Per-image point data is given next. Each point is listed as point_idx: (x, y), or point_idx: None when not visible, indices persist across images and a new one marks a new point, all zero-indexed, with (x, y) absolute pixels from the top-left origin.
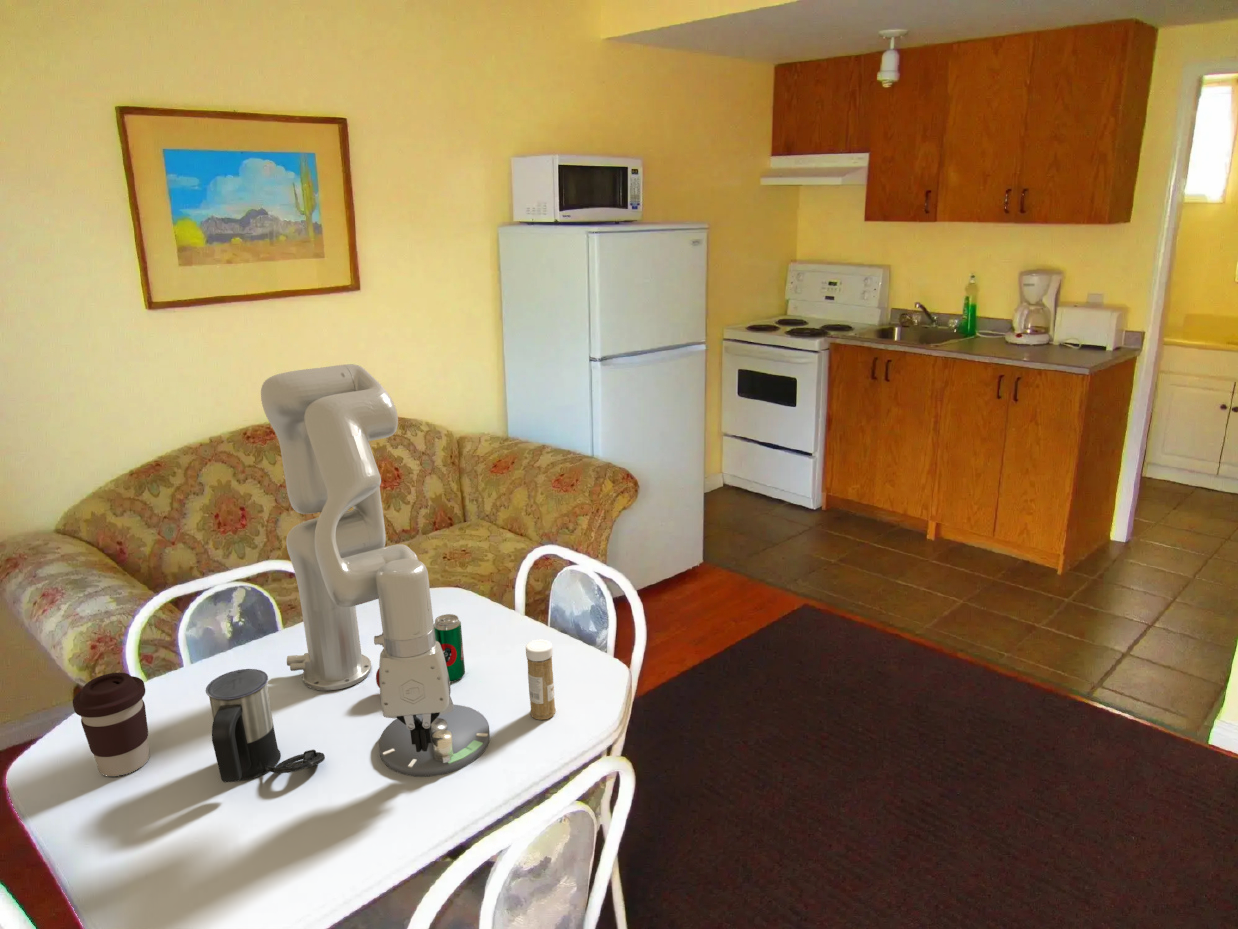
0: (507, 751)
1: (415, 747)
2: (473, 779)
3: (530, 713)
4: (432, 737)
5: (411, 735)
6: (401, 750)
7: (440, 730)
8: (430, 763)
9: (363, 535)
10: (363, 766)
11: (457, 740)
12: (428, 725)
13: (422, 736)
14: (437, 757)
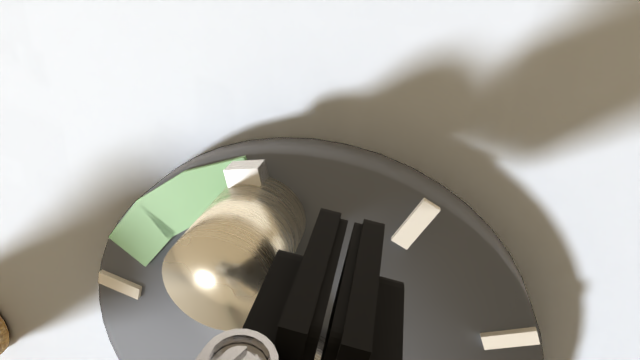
0: (50, 185)
1: None
2: (160, 55)
3: (3, 331)
4: None
5: (398, 333)
6: (449, 326)
7: None
8: (330, 194)
9: None
10: (623, 316)
11: None
12: (227, 352)
13: (312, 284)
14: (286, 198)
